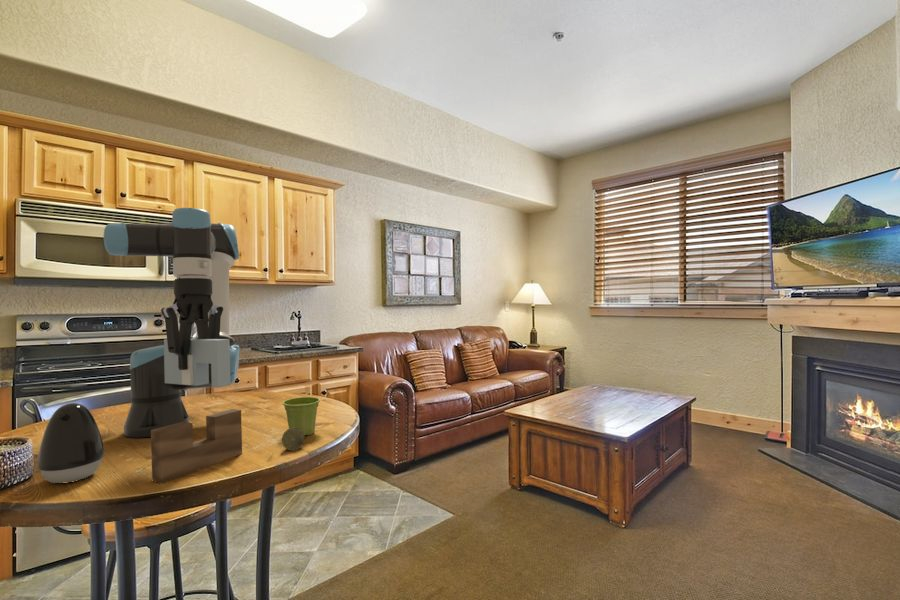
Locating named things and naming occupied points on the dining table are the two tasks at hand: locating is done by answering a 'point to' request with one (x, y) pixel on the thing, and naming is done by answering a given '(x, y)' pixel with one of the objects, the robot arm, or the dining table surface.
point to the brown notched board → (195, 445)
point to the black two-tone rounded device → (70, 445)
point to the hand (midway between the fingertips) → (195, 382)
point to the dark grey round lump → (293, 439)
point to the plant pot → (302, 413)
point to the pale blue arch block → (201, 362)
